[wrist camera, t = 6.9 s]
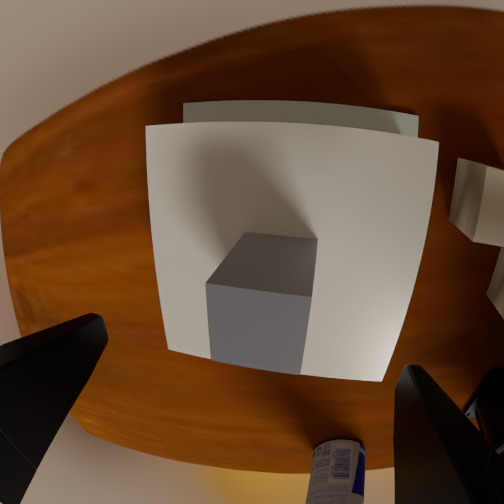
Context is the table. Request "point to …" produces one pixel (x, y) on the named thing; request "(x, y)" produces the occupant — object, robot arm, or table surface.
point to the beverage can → (337, 473)
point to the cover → (288, 242)
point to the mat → (302, 114)
